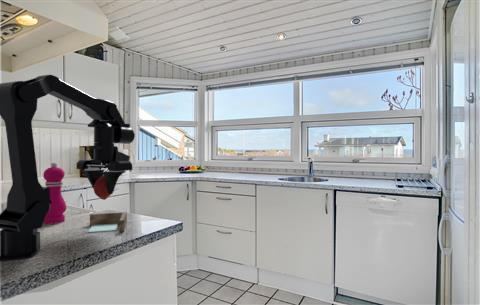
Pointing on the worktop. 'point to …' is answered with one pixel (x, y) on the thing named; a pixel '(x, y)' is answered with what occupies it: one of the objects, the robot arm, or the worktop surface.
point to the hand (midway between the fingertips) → (103, 193)
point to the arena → (109, 219)
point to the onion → (101, 188)
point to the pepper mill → (55, 194)
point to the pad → (103, 228)
